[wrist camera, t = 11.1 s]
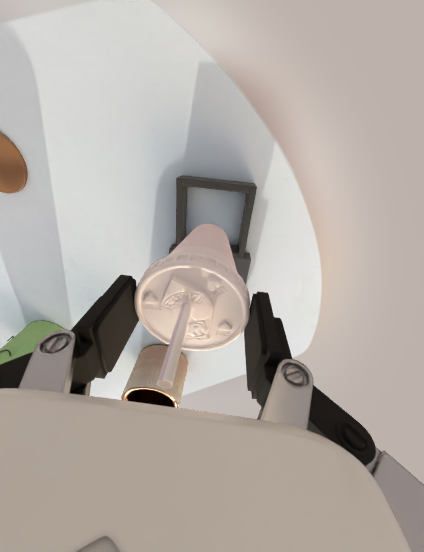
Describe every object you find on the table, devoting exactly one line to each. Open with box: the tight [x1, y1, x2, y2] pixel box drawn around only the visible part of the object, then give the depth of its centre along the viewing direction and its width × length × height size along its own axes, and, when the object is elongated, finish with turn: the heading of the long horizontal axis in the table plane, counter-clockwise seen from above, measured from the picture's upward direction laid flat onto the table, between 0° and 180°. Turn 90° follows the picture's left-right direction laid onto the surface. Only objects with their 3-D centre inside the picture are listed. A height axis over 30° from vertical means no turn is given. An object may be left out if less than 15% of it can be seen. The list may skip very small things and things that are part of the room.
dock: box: [176, 175, 257, 259], centre depth 29 cm, size 10×10×3 cm
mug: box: [0, 321, 65, 364], centre depth 41 cm, size 13×10×12 cm
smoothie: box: [134, 224, 250, 389], centre depth 14 cm, size 6×6×14 cm
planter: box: [121, 345, 187, 408], centre depth 43 cm, size 11×11×10 cm
